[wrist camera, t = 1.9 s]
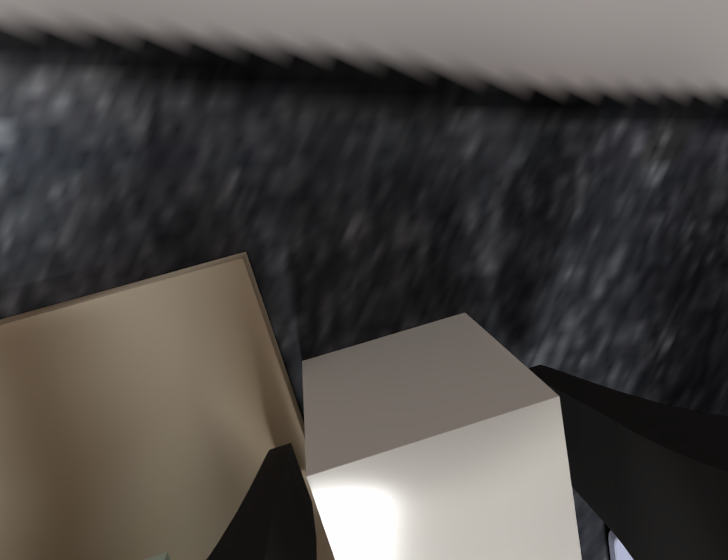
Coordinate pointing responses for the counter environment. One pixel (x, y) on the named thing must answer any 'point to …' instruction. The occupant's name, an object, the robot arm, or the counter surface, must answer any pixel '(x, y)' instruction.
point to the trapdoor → (160, 557)
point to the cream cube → (437, 450)
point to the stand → (141, 417)
